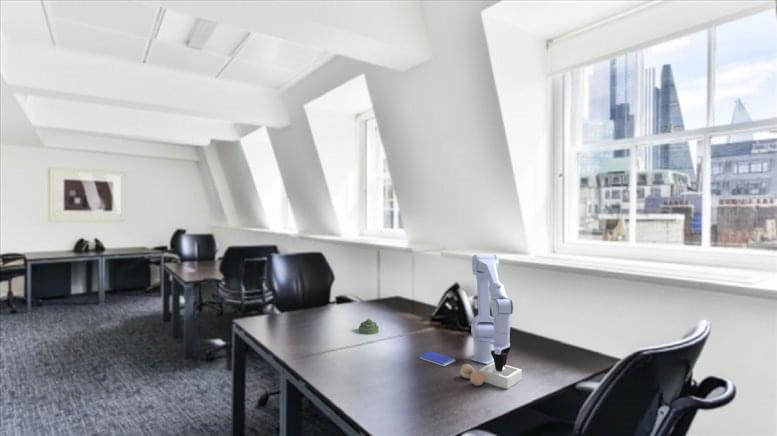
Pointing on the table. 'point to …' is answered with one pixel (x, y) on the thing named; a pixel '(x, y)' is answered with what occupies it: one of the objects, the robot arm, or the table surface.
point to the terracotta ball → (477, 378)
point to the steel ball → (504, 372)
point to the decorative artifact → (368, 327)
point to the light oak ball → (466, 370)
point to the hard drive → (437, 358)
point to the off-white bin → (501, 376)
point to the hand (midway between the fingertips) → (500, 367)
